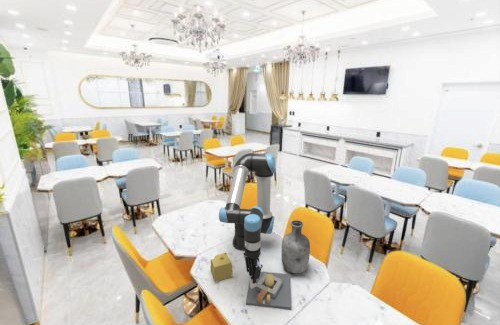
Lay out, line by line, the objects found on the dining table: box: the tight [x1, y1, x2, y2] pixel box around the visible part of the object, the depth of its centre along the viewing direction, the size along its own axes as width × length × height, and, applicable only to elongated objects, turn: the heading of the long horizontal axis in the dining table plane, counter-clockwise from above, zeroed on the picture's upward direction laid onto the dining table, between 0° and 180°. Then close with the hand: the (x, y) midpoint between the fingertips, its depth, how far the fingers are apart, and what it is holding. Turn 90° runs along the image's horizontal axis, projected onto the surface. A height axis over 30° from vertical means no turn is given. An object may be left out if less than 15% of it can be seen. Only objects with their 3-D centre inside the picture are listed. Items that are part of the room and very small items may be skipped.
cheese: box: [210, 252, 233, 282], centre depth 133 cm, size 10×11×10 cm
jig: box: [245, 271, 292, 311], centre depth 122 cm, size 22×22×8 cm
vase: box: [281, 219, 311, 274], centre depth 134 cm, size 16×16×30 cm
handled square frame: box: [255, 273, 283, 304], centre depth 120 cm, size 17×11×2 cm, turn 150°
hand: (253, 286), depth 117 cm, fingers closed
